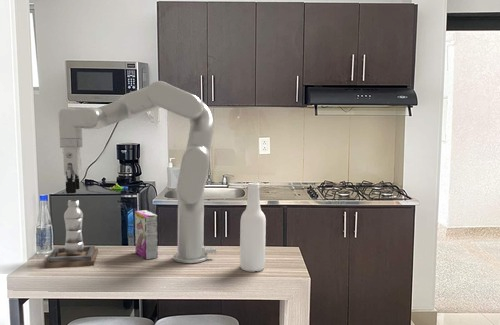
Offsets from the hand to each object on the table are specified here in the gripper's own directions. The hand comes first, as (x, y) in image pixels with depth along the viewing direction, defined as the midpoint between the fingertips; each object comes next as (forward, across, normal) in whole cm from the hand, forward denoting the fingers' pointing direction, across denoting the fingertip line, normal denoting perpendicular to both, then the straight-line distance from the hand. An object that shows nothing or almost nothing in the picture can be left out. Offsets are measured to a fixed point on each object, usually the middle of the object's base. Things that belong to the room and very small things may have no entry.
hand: (73, 191), depth 165 cm
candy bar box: (+26, +1, -25) cm, 36 cm away
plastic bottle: (+24, +2, +1) cm, 24 cm away
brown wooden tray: (+25, 0, +1) cm, 25 cm away
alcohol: (+27, -21, -61) cm, 70 cm away
